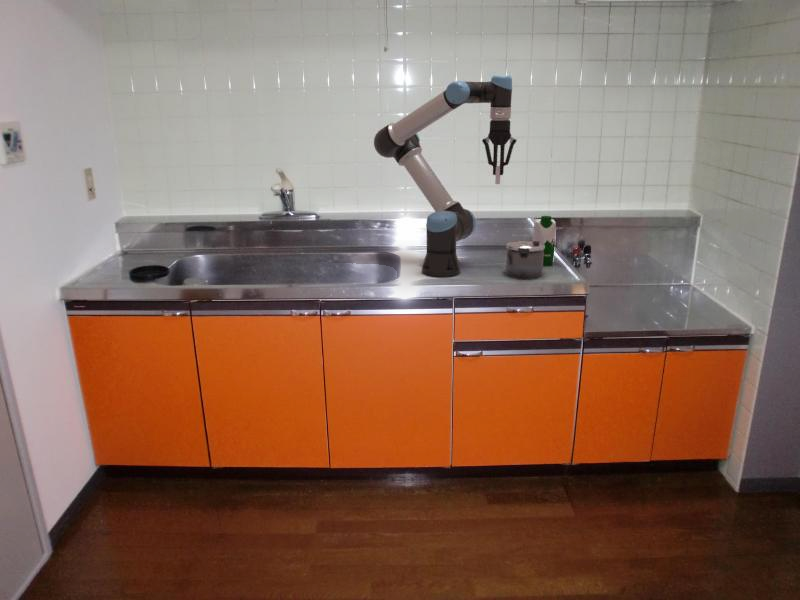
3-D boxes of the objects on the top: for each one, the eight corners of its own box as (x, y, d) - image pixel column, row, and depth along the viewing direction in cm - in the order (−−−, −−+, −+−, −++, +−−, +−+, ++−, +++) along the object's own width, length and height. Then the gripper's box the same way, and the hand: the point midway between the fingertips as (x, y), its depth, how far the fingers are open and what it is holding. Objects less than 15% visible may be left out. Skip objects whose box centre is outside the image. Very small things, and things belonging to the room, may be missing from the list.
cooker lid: (503, 251, 231) (504, 243, 230) (508, 243, 246) (508, 236, 245) (543, 253, 227) (543, 245, 226) (545, 245, 242) (546, 238, 241)
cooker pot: (503, 277, 236) (504, 252, 233) (508, 267, 250) (509, 243, 247) (541, 280, 232) (542, 254, 229) (543, 269, 246) (545, 245, 243)
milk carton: (532, 265, 252) (535, 217, 246) (530, 260, 261) (533, 213, 255) (554, 266, 252) (558, 217, 245) (551, 260, 260) (554, 213, 254)
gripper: (481, 120, 227) (479, 184, 234) (517, 120, 223) (513, 185, 231) (484, 119, 233) (482, 182, 241) (518, 119, 230) (515, 183, 237)
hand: (497, 183), depth 236 cm, fingers closed
